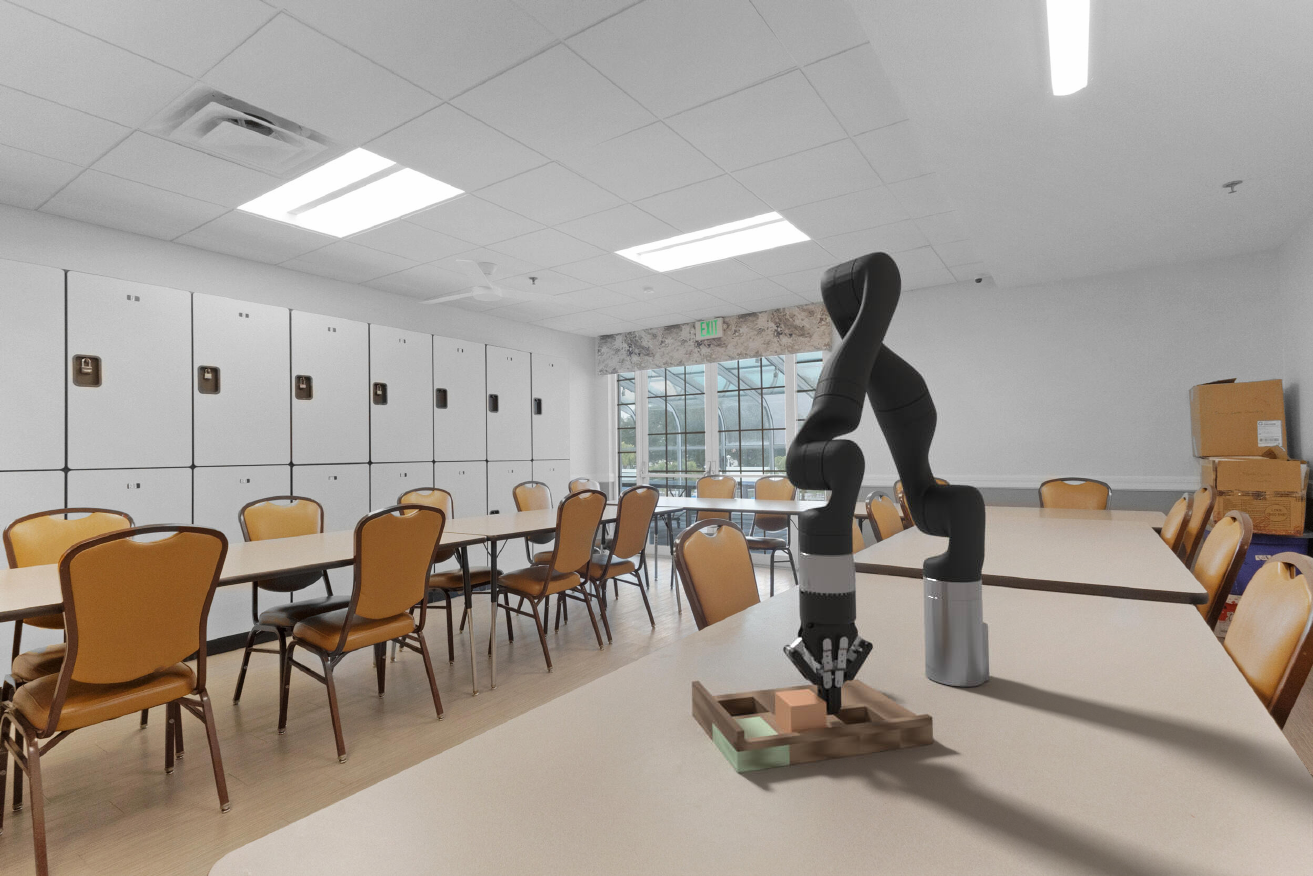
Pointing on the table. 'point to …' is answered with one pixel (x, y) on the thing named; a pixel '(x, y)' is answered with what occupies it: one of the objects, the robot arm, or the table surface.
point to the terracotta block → (800, 711)
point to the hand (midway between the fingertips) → (829, 712)
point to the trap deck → (762, 743)
